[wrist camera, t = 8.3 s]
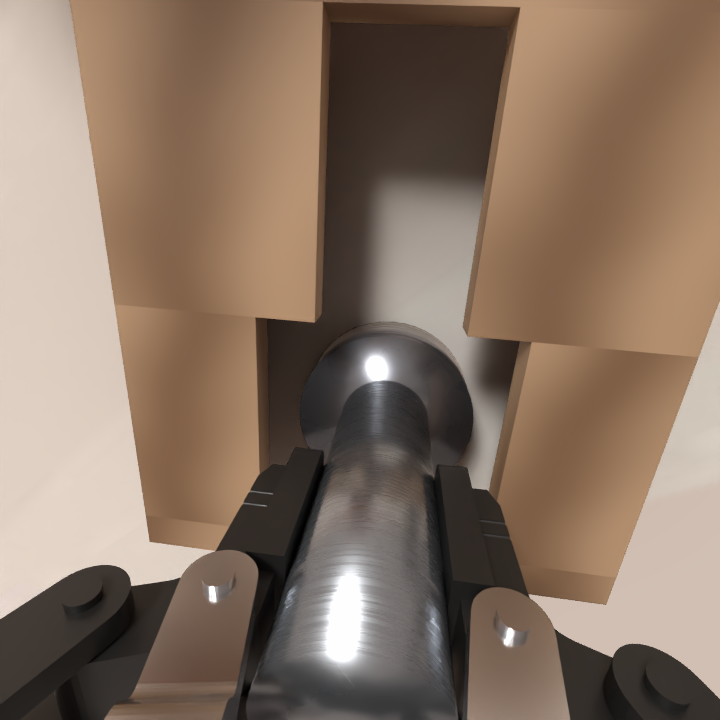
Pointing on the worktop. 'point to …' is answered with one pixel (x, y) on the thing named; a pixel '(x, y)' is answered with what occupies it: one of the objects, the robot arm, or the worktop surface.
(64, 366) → the worktop surface
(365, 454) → the peg
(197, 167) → the keyhole plate
